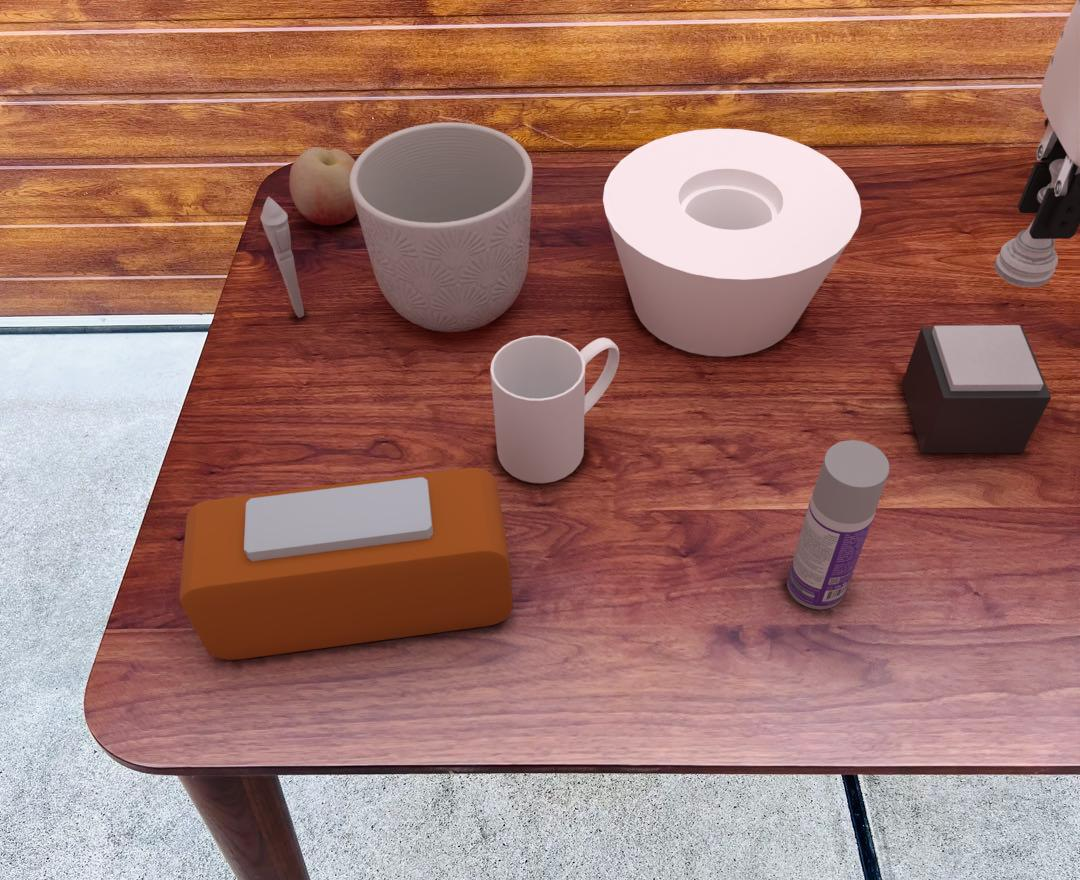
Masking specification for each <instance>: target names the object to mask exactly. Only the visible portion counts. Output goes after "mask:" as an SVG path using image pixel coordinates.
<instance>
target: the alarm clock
mask: <svg viewBox="0 0 1080 880" xmlns="http://www.w3.org/2000/svg"><path fill="white" fill-rule="evenodd" d="M183 543H184V544H183V553H182V565H181V574H180V575H181V576H180V587H179V596H178V597H179V603H180V605H181V608H182V609H183V611H184V614H185V615H186V616H187V619H188V621H189V622H190V624H191V625H192V627H193V629H194V631H195V633H196V634H197V637H198V638H199V640H200V642H201V644H202V645H203V647H204V650H205V651H207V652H208V653H209V654H210V655H211V656H213V657H216V658H217V659H222V660H228V661H229V660H230V661H231V660H232V661H233V660H245V659H251V658H259V657H267V656H273V655H281V654H282V655H283V654H289V653H295V652H304V651H311V650H319V649H326V648H333V647H334V648H335V647H340V646H348V645H356V644H364V643H371V642H379V641H385V640H393V639H400V638H407V637H415V636H422V635H430V634H438V633H444V632H446V633H447V632H452V631H460V630H467V629H475V628H483V627H489V626H494V625H497V624H499V623H501V622H504V621H505V620H507V619H508V618H509V617H510V615H511V614H512V612H513V609H514V608H513V607H514V598H513V587H512V575H511V564H510V555H509V548H508V541H507V536H506V530H505V524H504V517H503V511H502V504H501V497H500V492H499V485H498V482H497V480H496V477H495V476H494V475H493V474H492V473H491V472H489V470H487V469H483V468H479V467H464V468H456V469H448V470H440V471H431V472H423V473H416V474H409V475H408V474H407V475H401V476H393V477H385V478H375V479H368V480H359V481H351V482H344V483H335V484H328V485H319V486H312V487H304V488H302V487H301V488H295V489H287V490H280V491H271V492H264V493H262V492H261V493H255V494H248V495H247V494H245V495H239V496H238V495H237V496H231V497H230V496H229V497H223V498H215V499H207V500H203V501H200V502H197V503H196V504H195V505H193V506H191V508H190V509H189V511H188V513H187V515H186V520H185V531H184V542H183Z"/></svg>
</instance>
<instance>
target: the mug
mask: <svg viewBox="0 0 1080 880" xmlns="http://www.w3.org/2000/svg"><path fill="white" fill-rule="evenodd" d="M607 349H608V355H607V360H606V362H605V365H604V367H603V370H602V372H601V373H600V376H599V377H598V379H597V380H596V381H595V383H594V384H593V386H592V387H591V388H590V389H589V390H588V392H587V393H586V365H587V364H588V363H589V362H590V361H591V360H592V359H594V357H596V356H597V355H598V354H600V353H601V352H603V351H605V350H607ZM620 357H621V356H620V350H619V346H617V344H616V343H615V342H614V340H611V338H607V337H599V338H597V339H594V340H592V341H591V342H590V343H588V344H587V345H586V346H584V347H583V348H582V349H581V350H580V351H579V349H578V348H577V347H576V346H574V345H573V344H571V343H570V342H568V341H566V340H564V339H561V338H559V337H555V336H549V335H530V336H529V335H528V336H523V337H520V338H517V339H513V340H511V341H509V342H507V343H506V344H505V345H503V346H502V347H501V348H500V349H499V350H498V351H497V352H496V353H495V355H494V356H493V359H492V360H491V362H490V370H489V371H490V383H491V393H492V394H491V395H492V404H493V405H492V407H493V419H494V428H495V429H494V430H495V431H494V432H495V442H496V443H495V444H496V451H497V452H496V453H497V457H498V461H499V463H500V464H501V466H502V467H503V469H504V470H505V471H506V472H507V473H508V474H509V475H511V476H512V477H514V478H516V479H517V480H520V481H522V482H527V483H531V484H548V483H553V482H557V481H560V480H562V479H565V478H566V477H568V476H570V475H571V474H573V473H574V471H575V470H576V469H577V468H578V466H580V465H581V462H582V460H583V457H584V454H585V453H584V452H585V451H584V450H585V415H586V414H587V413H588V412H589V411H590V410H591V409H592V408H593V407H594V406H595V405H596V403H597V402H598V401H599V400H600V399H601V397H602V396H603V395H604V393H606V391H607V389H608V388H609V387H610V385H611V383H612V382H613V380H614V378H615V376H616V373H617V370H618V367H619V364H620Z"/></svg>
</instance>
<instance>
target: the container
mask: <svg viewBox="0 0 1080 880" xmlns="http://www.w3.org/2000/svg"><path fill="white" fill-rule="evenodd" d="M889 474H890V462H889V460H888V457H887V456H886V455H885V453H884V452H883V451H882V450H880V448H878V447H877V446H875V445H873V444H871V443H869V442H866V441H863V440H856V439H849V440H842V441H839V442H837V443H834V444H833V445H831V446H830V447H829V448H828V449H827V451H826V453H825V455H824V458H823V462H822V464H821V467H820V470H819V473H818V476H817V479H816V481H815V484H814V488H813V491H812V493H811V497H810V499H809V503H808V506H807V510H806V514H805V516H804V520H803V524H802V526H801V529H800V533H799V536H798V537H799V538H798V541H797V544H796V547H795V551H794V553H793V554H794V555H793V557H792V561H791V564H790V568H789V571H788V576H787V580H786V586H787V590H788V592H789V594H790V595H791V597H792V598H793V599H794V600H795V601H796V602H797V603H799V604H800V605H802V606H804V607H806V608H809V609H813V610H828V609H831V608H833V607H835V606H837V605H838V604H839V603H841V602H842V600H843V598H844V597H845V594H846V592H847V589H848V586H849V584H850V581H851V579H852V576H853V574H854V570H855V568H856V565H857V563H858V560H859V558H860V555H861V552H862V550H863V547H864V544H865V542H866V539H867V537H868V534H869V531H870V529H871V526H872V524H873V521H874V518H875V515H876V512H877V509H878V506H879V503H880V500H881V497H882V495H883V492H884V488H885V485H886V482H887V479H888V476H889Z"/></svg>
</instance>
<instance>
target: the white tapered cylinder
mask: <svg viewBox="0 0 1080 880" xmlns="http://www.w3.org/2000/svg"><path fill="white" fill-rule="evenodd" d="M849 177H850V176H848V175H847V174H846V173H845V171H844V170H843V169H842V168H841V167H840V166H838V165H837V164H836V163H835V162H833V161H832V160H831V159H830V158H829V157H828V156H825V155H824V154H822V153H821V152H819V151H816V150H815V149H814V148H811V147H810V146H807V145H805V144H803V143H800V142H797V141H796V140H792V139H790V138H787V137H783V136H780V135H775V134H772V133H768V132H763V131H755V130H749V129H739V128H707V129H694V130H690V131H684V132H679V133H673V134H670V135H667V136H664V137H660V138H657V139H654V140H652V141H650V142H647V143H646V144H644V145H642V146H639V147H638V148H636V149H634V150H633V151H631V152H630V153H629V154H627V155H626V156H625V157H623V158H622V159H621V160H620V161H619V162H618V163H617V165H615V167H614V168H613V169H612V170H611V171H610V173H609V176H608V178H607V180H606V182H605V184H604V189H603V194H602V195H603V196H602V203H603V207H604V211H605V216H606V219H607V223H608V226H609V229H610V230H609V231H610V232H611V233H610V234H611V236H612V239H613V243H614V246H615V249H616V252H617V256H618V259H619V262H620V265H621V270H622V272H623V276H624V279H625V282H626V285H627V289H628V292H629V296H630V299H631V302H632V305H633V309H634V311H635V314H636V315H637V318H638V319H639V321H640V323H641V324H642V325H643V326H644V328H646V330H647V331H648V332H650V333H651V334H652V335H653V336H655V337H656V338H657V339H658V340H660V341H662V342H663V343H666V344H668V345H669V346H671V347H673V348H676V349H679V350H681V351H685V352H688V353H691V354H696V355H702V356H708V357H721V358H722V357H738V356H744V355H748V354H753V353H757V352H760V351H763V350H765V349H768V348H770V347H772V346H773V345H775V344H777V343H779V342H780V341H782V340H784V339H785V338H786V336H787V335H788V334H790V333H791V331H792V330H793V329H794V328H795V326H796V324H797V323H798V322H799V320H800V318H801V316H802V315H803V313H804V312H805V311H806V309H807V307H808V306H809V305H810V302H811V301H812V300H813V298H814V296H815V295H816V293H817V292H818V290H819V289H820V287H821V286H822V284H823V283H824V281H825V279H826V278H827V277H828V275H829V274H830V272H831V270H832V269H833V267H834V265H835V264H836V263H837V261H838V260H839V258H840V257H841V255H842V254H843V252H844V250H845V249H846V247H847V246H848V244H849V243H850V241H851V239H852V238H853V236H854V234H855V233H856V231H857V230H858V228H859V224H860V220H861V216H862V206H861V198H860V195H859V193H858V191H857V188H856V186H855V185H854V182H853V181H852V180H851V179H850V178H849Z"/></svg>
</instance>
